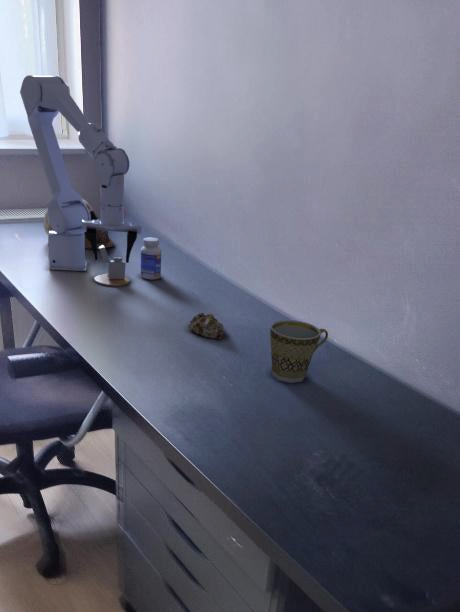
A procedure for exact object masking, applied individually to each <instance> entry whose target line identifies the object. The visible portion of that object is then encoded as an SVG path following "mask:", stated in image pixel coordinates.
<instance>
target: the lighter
mask: <svg viewBox="0 0 460 612" xmlns="http://www.w3.org/2000/svg"><path fill="white" fill-rule="evenodd" d="M98 252H99V253H100V256H101V258H102V262H103V263H104V264H105V265H106V264H108V265H107V274H108V278H109V279H125V276H126V266H127V265H126V264H127V263H126V260H123V258H122V257H120V256H113V257H112V259H110V257H109V254H108V252H107V248H105V247H104V246H103V245H102V246H100V247H98Z"/></svg>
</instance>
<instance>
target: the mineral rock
mask: <svg viewBox="0 0 460 612" xmlns="http://www.w3.org/2000/svg"><path fill="white" fill-rule="evenodd" d="M188 329H189V332H193V333H195V334H198V335H201V336H202V337H205V338H208V339H214V340H218V341H219V340H222V338H224V337H225V335H226V331H225V330H224V325H223V323H221V322H219V321H218V319H217V318H215V316H214V314H212V313H207V314H205V313H203V312H199V313H198V314H196V315H194V316H193V317H192V319H191V320H190V322H189V323H188Z"/></svg>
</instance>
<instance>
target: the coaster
mask: <svg viewBox="0 0 460 612" xmlns="http://www.w3.org/2000/svg"><path fill="white" fill-rule="evenodd" d="M94 282H95V283H97V284H99V285H102V286H106V287H123V286H126V285H128V284H130V282H131V280H130V277H128V276H127V275H125V279H109V278H108V273H102V274H98V275H96V276H94Z"/></svg>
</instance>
